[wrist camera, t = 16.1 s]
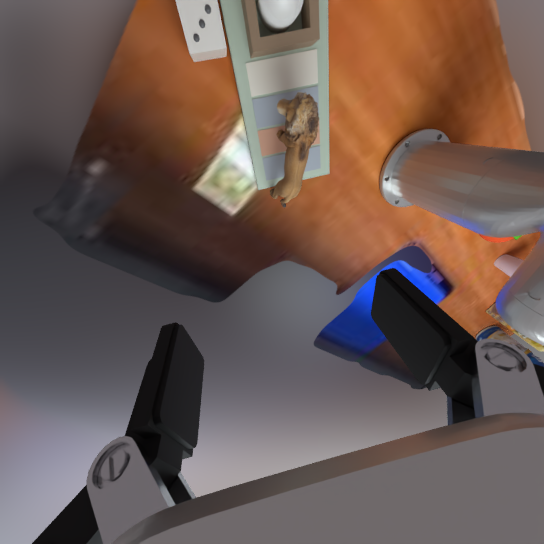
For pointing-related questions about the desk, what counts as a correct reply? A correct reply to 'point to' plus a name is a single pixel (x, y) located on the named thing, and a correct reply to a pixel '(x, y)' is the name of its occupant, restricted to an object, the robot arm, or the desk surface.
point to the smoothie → (508, 264)
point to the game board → (279, 81)
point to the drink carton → (494, 314)
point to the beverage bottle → (499, 334)
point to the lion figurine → (296, 142)
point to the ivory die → (202, 29)
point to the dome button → (278, 13)
